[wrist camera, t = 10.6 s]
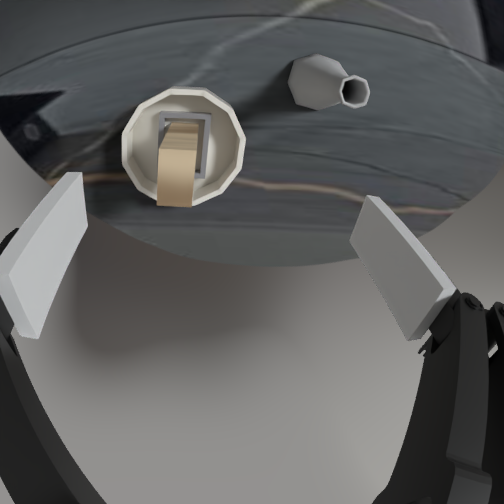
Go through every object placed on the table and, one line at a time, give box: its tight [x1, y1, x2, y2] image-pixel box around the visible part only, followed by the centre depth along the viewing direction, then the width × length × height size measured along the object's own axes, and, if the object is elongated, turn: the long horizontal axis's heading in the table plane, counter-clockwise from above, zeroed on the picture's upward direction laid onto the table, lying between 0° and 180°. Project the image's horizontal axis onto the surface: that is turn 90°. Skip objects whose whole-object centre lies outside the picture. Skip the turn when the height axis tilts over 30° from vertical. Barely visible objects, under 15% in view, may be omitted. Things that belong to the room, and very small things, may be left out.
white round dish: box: [122, 86, 246, 206], centre depth 32 cm, size 13×13×4 cm
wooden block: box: [157, 122, 199, 207], centre depth 28 cm, size 5×3×11 cm, turn 171°
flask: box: [288, 53, 370, 111], centre depth 27 cm, size 7×7×10 cm
